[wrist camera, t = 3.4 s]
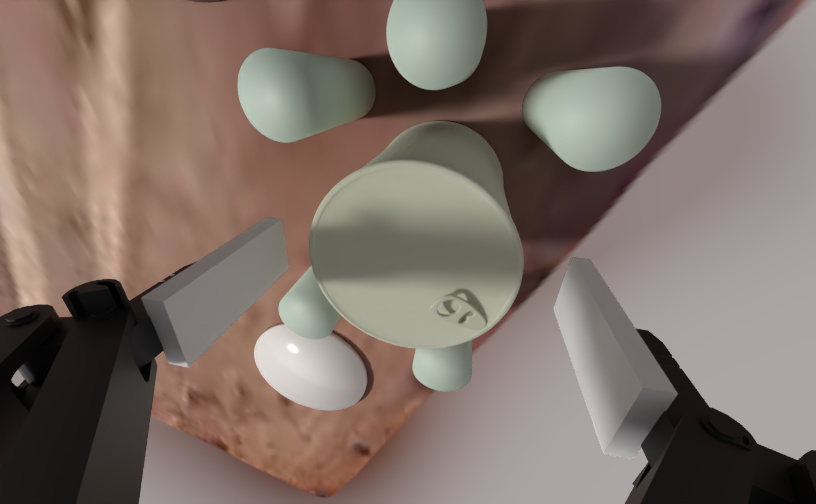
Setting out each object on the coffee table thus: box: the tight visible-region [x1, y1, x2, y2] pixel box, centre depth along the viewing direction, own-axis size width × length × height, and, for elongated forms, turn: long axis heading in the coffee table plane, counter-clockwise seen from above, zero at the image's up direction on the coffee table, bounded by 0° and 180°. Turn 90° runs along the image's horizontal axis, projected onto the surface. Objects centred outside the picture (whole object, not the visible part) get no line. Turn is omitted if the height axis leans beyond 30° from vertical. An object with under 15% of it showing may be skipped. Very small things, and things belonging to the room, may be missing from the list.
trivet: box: [254, 323, 368, 410], centre depth 35 cm, size 13×13×1 cm
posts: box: [238, 0, 661, 391], centre depth 19 cm, size 17×21×9 cm
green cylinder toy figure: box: [309, 121, 524, 349], centre depth 18 cm, size 9×9×12 cm
